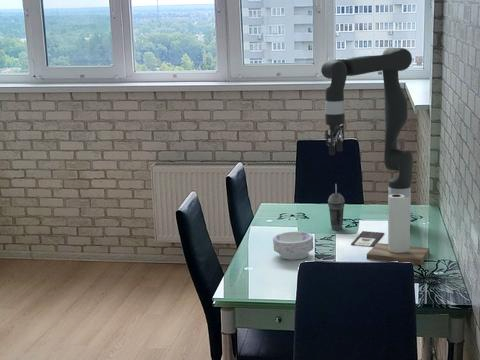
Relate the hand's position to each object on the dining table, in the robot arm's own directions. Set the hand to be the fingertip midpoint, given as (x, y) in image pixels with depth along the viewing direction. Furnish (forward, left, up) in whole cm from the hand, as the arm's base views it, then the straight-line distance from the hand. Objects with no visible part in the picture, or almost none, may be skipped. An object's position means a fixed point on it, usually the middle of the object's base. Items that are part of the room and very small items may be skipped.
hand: (335, 153), depth 279 cm
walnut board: (+11, +28, -36) cm, 47 cm away
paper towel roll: (+11, +28, -34) cm, 46 cm away
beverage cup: (-16, -6, -36) cm, 40 cm away
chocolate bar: (-5, +11, -37) cm, 39 cm away
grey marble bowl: (+24, -9, -36) cm, 45 cm away
